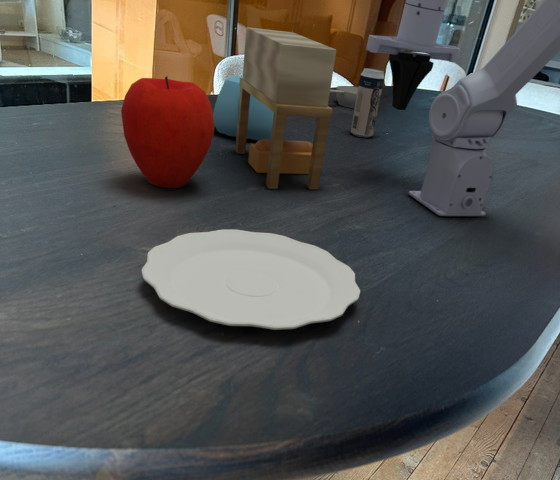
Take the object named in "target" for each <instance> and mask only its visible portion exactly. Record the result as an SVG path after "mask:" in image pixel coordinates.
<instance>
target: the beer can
mask: <svg viewBox="0 0 560 480" xmlns="http://www.w3.org/2000/svg"><path fill="white" fill-rule="evenodd" d="M384 72H385V71H383V70H380V69H375V68H369V67H367V68H365V67H364V68H363V69H362V72H361V73H360V77H359V82H358V86H357V87H358V93H357V98H356V104H355V109H354V108H353V109H354V110H353V115H352V121H351V127H350V133H351V134H352V135H353V136H356V137H359V138H370V137H372V136H374V132H375V126H376V121H377V116H378V112H379V106H380V101H381V96H382V92H383V88H384V87H383V86H384V82H385V78H386V77H385V73H384Z"/></svg>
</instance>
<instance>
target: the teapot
mask: <svg viewBox="0 0 560 480" xmlns="http://www.w3.org/2000/svg"><path fill="white" fill-rule="evenodd" d="M240 78H243V75H231V76H228V77H227V78H226V79H225V80H224V82H223V84H222V86H221V88H220V91H219V93H218V95H217V98H216V100H215V104H214V107H213V119H214V128H215V129H216V132H218V133H220V134H224V135H226V136H228V137H234V138H236V136H237V123H238V110H239V96H240V86H239V83H240ZM273 115H274V112H273V111H271V110H270V109H269V108H267V107H266V106H265V105H264V104H262V103H261V102H260V101H258V100H257V99H256V98H255V97H253V96H252V95H251V94H250V104H249V116H248V128H247V139H248V140H253V141H256V142H258V141H259V140H261V139H269V140H271V134H272V124H273ZM247 139H246V140H247Z"/></svg>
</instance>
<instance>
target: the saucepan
mask: <svg viewBox="0 0 560 480" xmlns="http://www.w3.org/2000/svg"><path fill="white" fill-rule="evenodd" d="M358 87H359V86H353V85H352V86H351V85H337V86H336V89H330V93H332V94H333V93H334V94H335V97H336V100H337V102H338V105H340V106H342V107H346V108H350V109H355V104H356V98H357V93H358Z"/></svg>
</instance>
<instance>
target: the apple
mask: <svg viewBox="0 0 560 480" xmlns="http://www.w3.org/2000/svg"><path fill="white" fill-rule="evenodd" d="M213 113H214V111H213V108H212V104H211V101H210V99H209V97H208V95H207V93H206V91H205V90H203V88H201V87H200V86H199V85H198V84H196V83H195V82H192V81H180V80H175V79H169V78H168V75H166V76H164V78H155V77H154V78H153V77H141V78H139V79H137V80H136V81H134V82H133V83H131V84H130V86H129V88H128V90H127V91H126V93H125V95H124V98H123V102H122V106H121V110H120V114H121V122H122V130H123V137H124V140H125V142H126V145H127V148H128V151H129V153H130V156H131V157H132V159H133V161H134V163H135V165H136V166H137V168H138V169H139V171H140V172H141V174H142V175H143V176H144V177H145V178H146V180H147V181H148V182H149V183H150V184H151V185H153V186H155V187H159V188H166V189H178V188H181V187H183V186H185V185H187V184H189V182H190V180H191V179H192V178H193V176H194V175H195V174H196V172H197V171H198V169H199V168H200V166H201V165H202V163H203V161H204V160H205V158H206V156H207V154H208V151H209V150H210V147H211V146H212V143H213V137H214V134H215V125H214V119H213Z"/></svg>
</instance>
